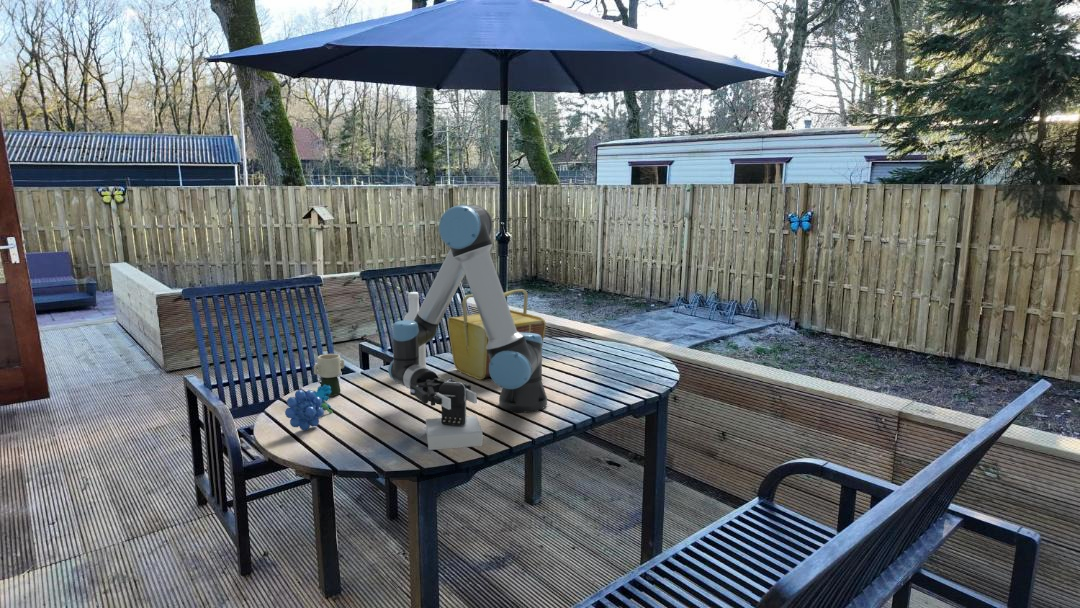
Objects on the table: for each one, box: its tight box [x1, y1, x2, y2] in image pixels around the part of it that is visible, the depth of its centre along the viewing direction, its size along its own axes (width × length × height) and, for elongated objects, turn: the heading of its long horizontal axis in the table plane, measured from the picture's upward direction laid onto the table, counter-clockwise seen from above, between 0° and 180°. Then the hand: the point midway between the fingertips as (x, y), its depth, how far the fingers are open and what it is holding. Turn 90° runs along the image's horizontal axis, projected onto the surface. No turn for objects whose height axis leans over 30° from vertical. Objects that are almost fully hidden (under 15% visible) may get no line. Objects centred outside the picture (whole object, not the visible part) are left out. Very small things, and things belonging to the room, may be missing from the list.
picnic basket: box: [447, 288, 547, 381], centre depth 233 cm, size 29×26×30 cm
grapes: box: [284, 389, 325, 431], centre depth 172 cm, size 12×7×12 cm, turn 144°
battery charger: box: [438, 382, 467, 426], centre depth 167 cm, size 7×4×11 cm, turn 73°
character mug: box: [313, 353, 345, 397], centre depth 203 cm, size 11×7×13 cm, turn 141°
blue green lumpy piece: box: [313, 384, 334, 414], centre depth 189 cm, size 11×6×10 cm
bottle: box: [403, 291, 427, 368], centre depth 228 cm, size 8×8×30 cm
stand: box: [425, 415, 483, 451], centre depth 168 cm, size 14×12×4 cm
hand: (462, 401), depth 162 cm, fingers open, 7 cm apart
